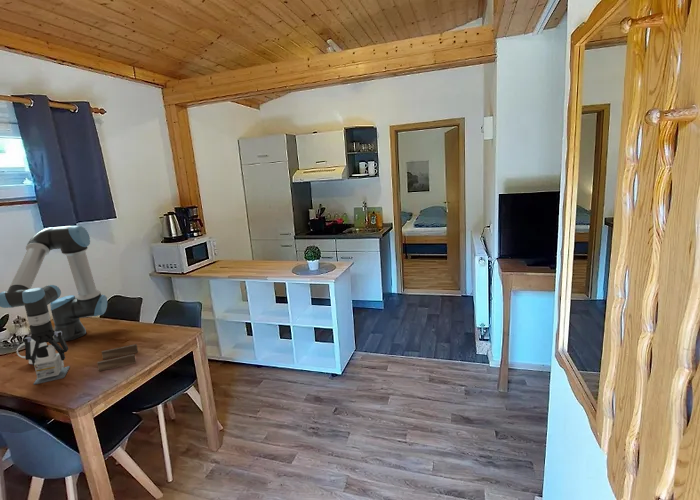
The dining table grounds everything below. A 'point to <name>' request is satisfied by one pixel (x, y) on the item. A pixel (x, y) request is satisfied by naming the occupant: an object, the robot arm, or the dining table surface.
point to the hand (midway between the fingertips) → (51, 369)
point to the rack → (120, 360)
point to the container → (47, 362)
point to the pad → (61, 375)
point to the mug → (31, 348)
